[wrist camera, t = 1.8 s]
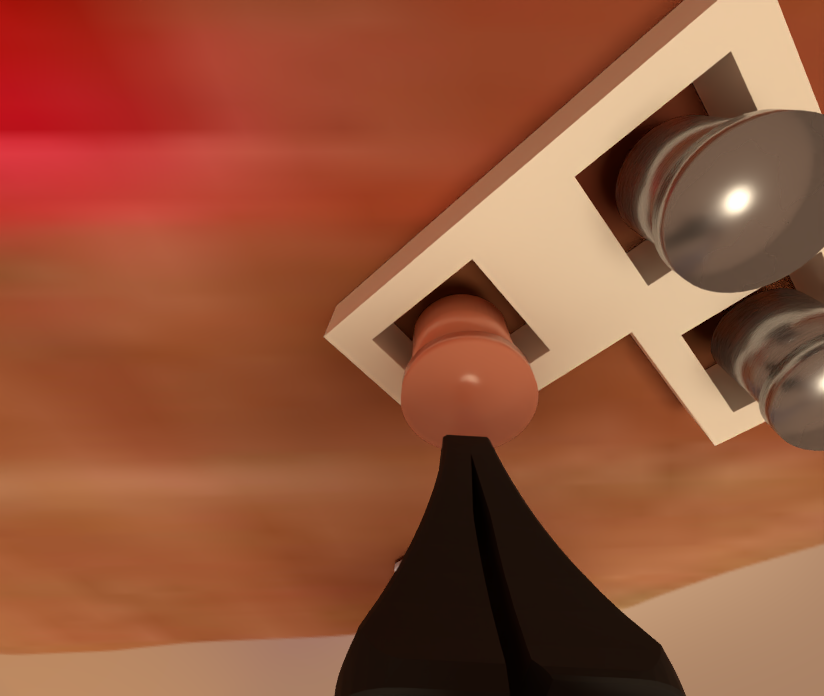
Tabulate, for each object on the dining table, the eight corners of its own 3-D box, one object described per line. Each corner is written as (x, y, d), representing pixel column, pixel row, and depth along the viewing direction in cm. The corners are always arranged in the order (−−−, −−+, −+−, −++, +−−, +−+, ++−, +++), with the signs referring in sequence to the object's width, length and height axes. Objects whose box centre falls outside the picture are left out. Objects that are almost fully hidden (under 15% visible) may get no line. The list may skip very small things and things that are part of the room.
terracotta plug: (536, 342, 19) (565, 407, 15) (452, 399, 20) (458, 471, 16) (469, 264, 17) (481, 315, 13) (383, 333, 19) (372, 396, 15)
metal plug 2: (841, 338, 18) (950, 404, 14) (729, 396, 20) (801, 470, 16) (802, 257, 16) (915, 308, 13) (684, 328, 18) (752, 392, 14)
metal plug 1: (768, 186, 15) (883, 218, 11) (644, 269, 17) (708, 322, 13) (713, 69, 14) (825, 61, 10) (581, 174, 15) (633, 203, 11)
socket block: (850, 315, 20) (913, 348, 18) (530, 487, 26) (542, 530, 24) (701, -16, 14) (762, -39, 12) (336, 305, 21) (323, 336, 18)
